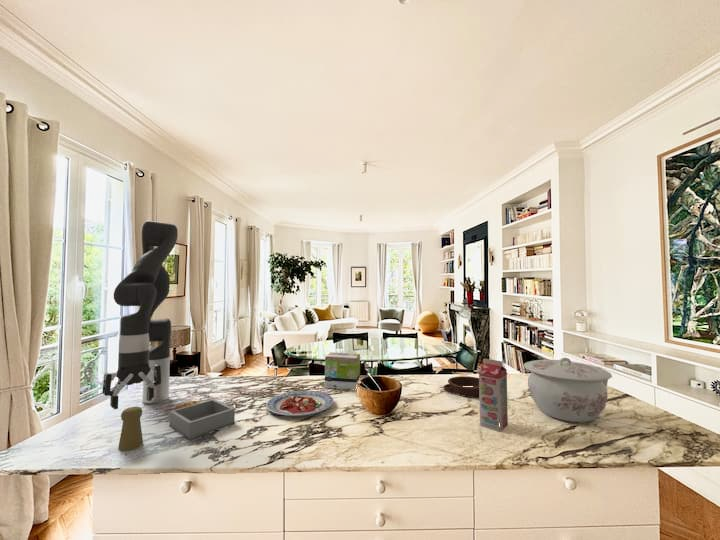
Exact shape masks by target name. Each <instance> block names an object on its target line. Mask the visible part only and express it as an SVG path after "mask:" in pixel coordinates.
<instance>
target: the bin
mask: <svg viewBox="0 0 720 540" xmlns="http://www.w3.org/2000/svg"><path fill="white" fill-rule="evenodd" d="M171 410H172V409H171ZM171 410H170V411H169V413H170V415H169V425H168V426H169V427H170V428H171V429H172V430H174V431H176V432H177V433H179V434H180V435H182V436H183V437H184V438H186V439H187V440H192V439H195V438H199V437H200V436H203V435H206V434H209V433H212V432H215V431H218V430H220V429H223V428H226V427H229V426H232V425H234V424H235V414H236V413H235V412H236V410H235V407H233V406H230V405H228V404H226V403H223V402H221V401H219V400H217V399H215V398H212V399H207V400H205V401H201V402H197V404H194V405H190V406H186V407H183V408H179V409H176V410H172V411H171ZM231 424H232V425H231Z"/></svg>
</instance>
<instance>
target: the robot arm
mask: <svg viewBox="0 0 720 540" xmlns="http://www.w3.org/2000/svg"><path fill="white" fill-rule="evenodd" d="M178 235H179V233H178V227H177V226H176V225H175V224H173V223H170V222H169V223H168V222H161V221H155V220H146V221H144V223H143V224H142V228H141V246H142V248H141V249H142V255H141V256H140V257H139V258H138V259H137V261H136V262H135V264H134V266H133V268H132V270H131V272H130V273H129V274H127V275H126V276H125V277H124V278H123V279H122V280H121V281H120V282H119V283H118V284H117V286H116V287H115V289H114V291H113V300H114V302H115V303H116V304H117V305H118V306H120V307H139V309H138V310H137V312H134V313H128V314H126V315H123V316H122V317H121V318H120V333H119V334H120V337H119V340H118V359H117V360H118V362H117V364H118V365H117V366H118V368H117V371H116V372H105V373H104V375H103V381H102V382H103V383H102V384H103V385H102V391H101V392H102V394H103V395H104V396H106V397H108V396H110V404H109V405H110V407H111V408H112V409H113V410H118V409H119V393H120V392H121V391H122V390H123V389H124V388H125V387H126V386H131V385H134V384H141V383H142V403H143V404H156V403H160V402H161V403H163V402H164V401H166V400H168V399H169V396H170V371H171V370H170V367H171V366H170V365H171V363H170V362H171V337H172V335H171V334H172V321H171V320H170V318H153V319H152V317H153V315H154V313H155V311H156V310H157V308H158V307H159V306H160V305H161V304H162V303H163V302H164V301H165V299H166V298H167V297H168V296H169V294H170V285H171V284H170V283H171V276H170V275H169V273H168V271H167V269H166V268H165V266H164V265H163V264H164V262H165V261H166V259H167V258H168V257H169V255H170V253H171V252H172V251H173V250H174V248H175V245H176V243H177V240H178ZM154 342H160V344H159V345H157V346H155V347H152V348H150V347H151V346H150V343H154ZM115 378H118V381H117V382H116V383H115V384H114V387H113V388H111V387H112V386H111V385H112V381H114V379H115Z"/></svg>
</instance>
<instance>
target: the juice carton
mask: <svg viewBox="0 0 720 540" xmlns="http://www.w3.org/2000/svg"><path fill="white" fill-rule="evenodd" d="M507 370H508V369H506V367H504V361H501V360H497V359H489V358H484V357H483V358H482V364H481V365H480V367H479V370H478V378H479V398H478V399H479V426H480V427H483V428H486V429H490V430H493V431H496V432H497V433H498V432H499V433H500V432H502V431H503V430H504V429H505V427H506V428H507V427H508V426H509V425H508V424H509V422H508V421H509V419H508V416H509V415H508V413H509V412H508V372H507ZM499 423H500V427H499Z"/></svg>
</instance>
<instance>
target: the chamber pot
mask: <svg viewBox="0 0 720 540" xmlns="http://www.w3.org/2000/svg"><path fill="white" fill-rule="evenodd" d="M523 368H525V370H527V371H529V372H530V374H529V376H528V378H527V387H528V391H529V395H530V397H531V398H532V400H533V402H534V403H535V405H536V406H537V407H538V410H540V411H541V412H542V413H544V414H545V415H547V416H549V417H552V418H553V417H554V419H556V418H557V419H556V420H559V419H560V421H562V420H564V421H563V422H567V421H569V422H568V423H576V422H578V423H590V422H593V421H595V420H596V419H597V418H598V417H599V416H600V415H601V414H602V413H603V412H604V410H605V409H606V406H607V401H608V388H607V386H608V382H609V380H610V379H612V378H613V375H612V373H611V372H609V371H607V370H606V369H604V368H602V367H600V366H594V365H592V364H587V363H583V362H578V361H572V360H571V359H570V358H567V357H562V358H560V359H536V360H530V361H527V362H524V364H523Z"/></svg>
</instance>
